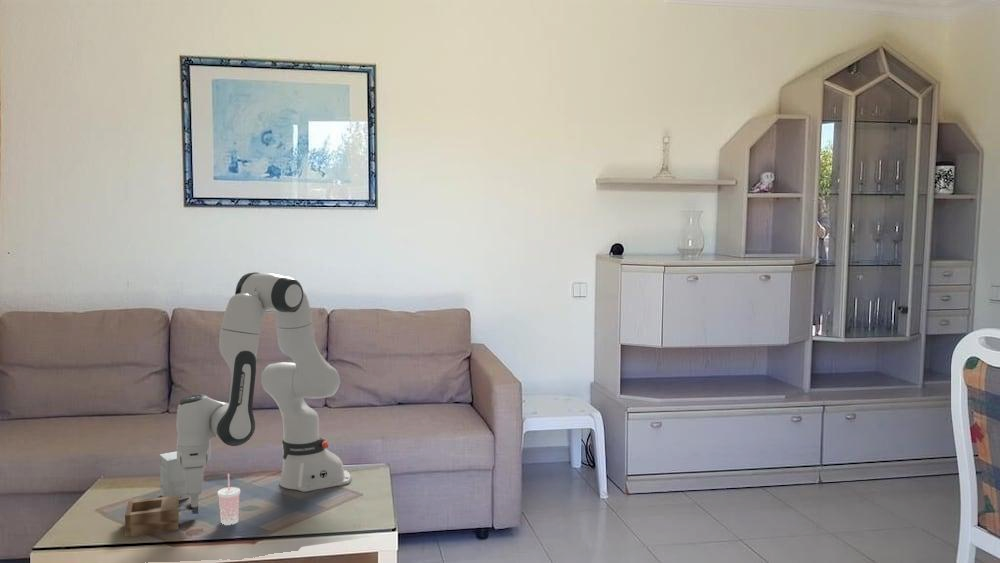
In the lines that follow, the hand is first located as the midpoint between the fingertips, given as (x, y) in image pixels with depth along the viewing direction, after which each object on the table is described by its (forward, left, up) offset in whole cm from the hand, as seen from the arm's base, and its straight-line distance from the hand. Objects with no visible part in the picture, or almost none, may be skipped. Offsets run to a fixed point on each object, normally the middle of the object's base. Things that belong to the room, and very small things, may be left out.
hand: (194, 500), depth 222 cm
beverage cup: (-9, +5, -6) cm, 12 cm away
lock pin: (+5, -1, -4) cm, 7 cm away
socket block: (+11, +1, -6) cm, 12 cm away
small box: (+6, -21, -6) cm, 22 cm away
